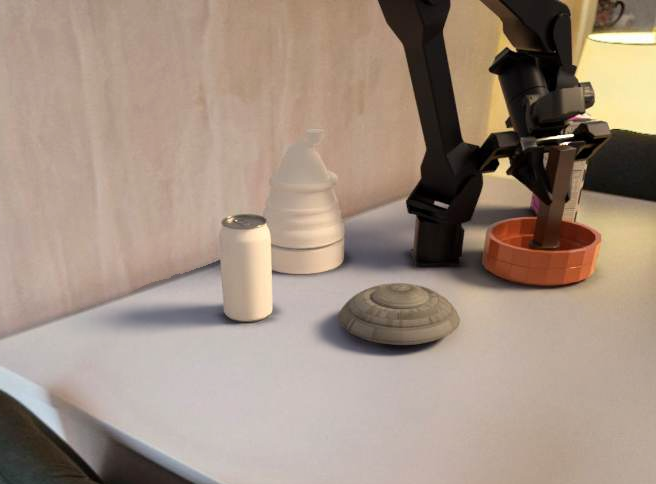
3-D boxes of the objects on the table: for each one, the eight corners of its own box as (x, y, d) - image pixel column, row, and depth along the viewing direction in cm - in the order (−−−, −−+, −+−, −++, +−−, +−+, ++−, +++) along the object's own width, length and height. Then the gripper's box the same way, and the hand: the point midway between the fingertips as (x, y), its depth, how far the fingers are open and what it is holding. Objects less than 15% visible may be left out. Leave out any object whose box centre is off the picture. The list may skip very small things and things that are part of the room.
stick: (521, 247, 113) (539, 145, 104) (547, 243, 114) (567, 142, 105) (538, 257, 109) (558, 152, 101) (565, 253, 110) (587, 149, 102)
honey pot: (351, 247, 120) (356, 122, 109) (334, 277, 111) (337, 142, 100) (273, 242, 123) (270, 119, 112) (249, 270, 114) (243, 139, 103)
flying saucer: (317, 317, 99) (318, 276, 96) (415, 296, 104) (419, 256, 101) (376, 364, 89) (379, 320, 85) (482, 338, 93) (489, 295, 90)
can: (236, 327, 98) (231, 232, 90) (216, 309, 102) (209, 218, 95) (281, 316, 100) (279, 223, 93) (259, 300, 105) (255, 209, 97)
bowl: (496, 290, 105) (501, 254, 102) (471, 251, 117) (475, 218, 114) (609, 287, 105) (618, 250, 102) (572, 248, 117) (579, 215, 114)
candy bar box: (527, 208, 134) (545, 104, 124) (556, 207, 134) (576, 103, 124) (544, 228, 125) (565, 118, 115) (575, 228, 125) (599, 117, 115)
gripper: (497, 65, 98) (531, 177, 96) (620, 54, 102) (654, 161, 100) (459, 121, 108) (489, 222, 107) (572, 109, 113) (602, 206, 111)
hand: (558, 202), depth 106 cm, fingers closed on stick, 2 cm apart
